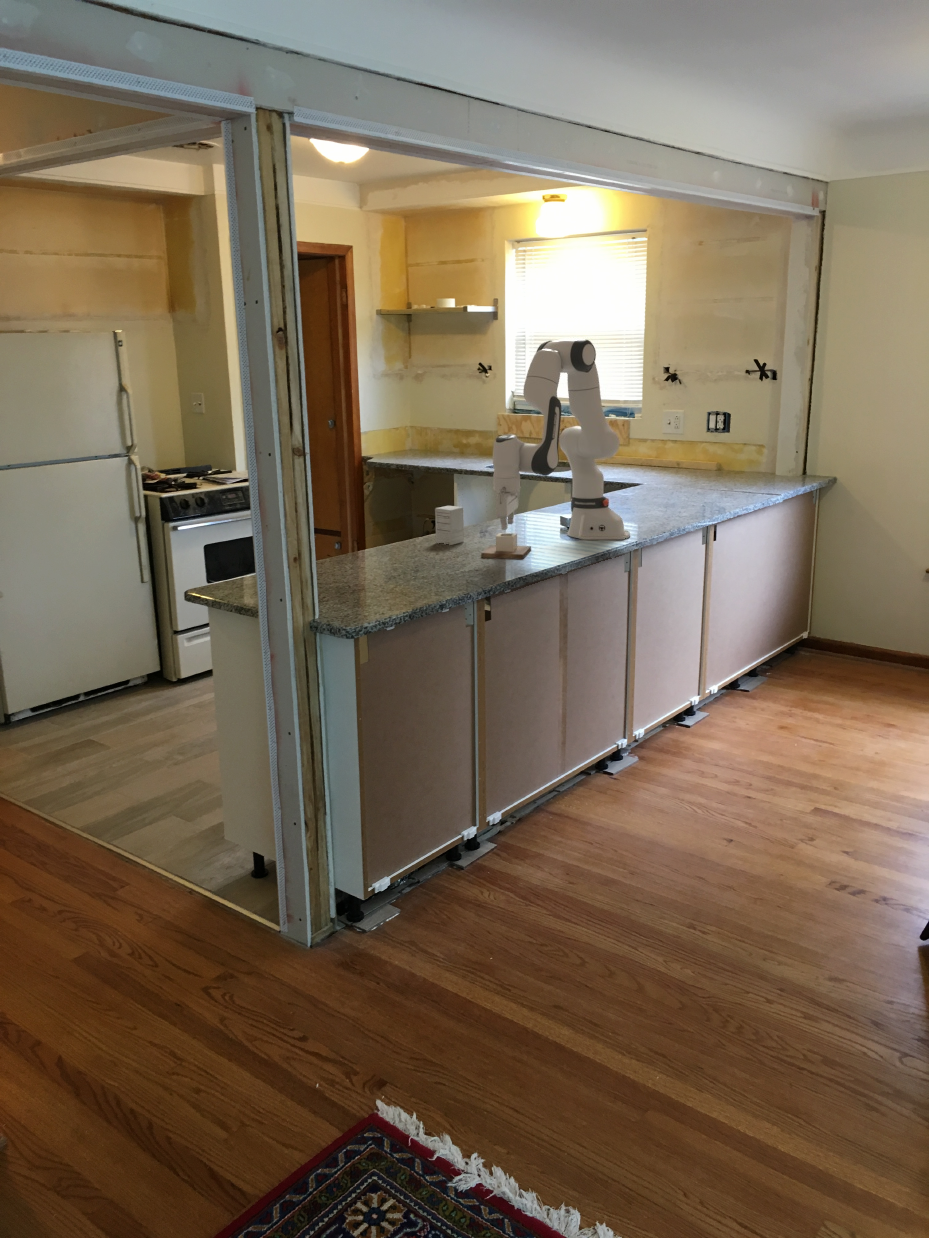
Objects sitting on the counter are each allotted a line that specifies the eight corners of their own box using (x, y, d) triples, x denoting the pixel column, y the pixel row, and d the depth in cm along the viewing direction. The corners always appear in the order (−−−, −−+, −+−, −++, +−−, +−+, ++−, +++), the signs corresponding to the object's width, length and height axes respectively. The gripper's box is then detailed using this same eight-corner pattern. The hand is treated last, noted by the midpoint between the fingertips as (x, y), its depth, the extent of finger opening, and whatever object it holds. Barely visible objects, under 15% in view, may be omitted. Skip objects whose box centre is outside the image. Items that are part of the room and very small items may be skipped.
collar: (517, 548, 335) (517, 533, 333) (513, 551, 329) (513, 536, 328) (499, 547, 336) (499, 532, 335) (495, 551, 331) (495, 536, 329)
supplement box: (448, 539, 359) (448, 505, 355) (464, 542, 354) (464, 507, 351) (435, 543, 353) (434, 507, 350) (451, 545, 349) (450, 509, 345)
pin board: (530, 550, 338) (530, 533, 336) (522, 559, 325) (522, 541, 323) (490, 549, 341) (490, 531, 340) (481, 557, 328) (481, 539, 327)
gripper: (509, 490, 317) (510, 533, 320) (522, 480, 336) (522, 521, 339) (490, 490, 318) (491, 532, 322) (503, 480, 337) (504, 520, 341)
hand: (507, 526), depth 331 cm, fingers open, 8 cm apart
